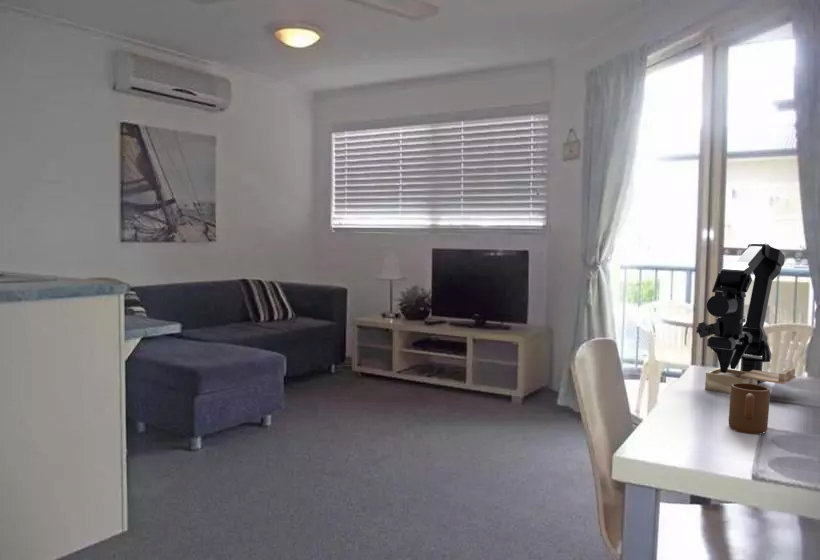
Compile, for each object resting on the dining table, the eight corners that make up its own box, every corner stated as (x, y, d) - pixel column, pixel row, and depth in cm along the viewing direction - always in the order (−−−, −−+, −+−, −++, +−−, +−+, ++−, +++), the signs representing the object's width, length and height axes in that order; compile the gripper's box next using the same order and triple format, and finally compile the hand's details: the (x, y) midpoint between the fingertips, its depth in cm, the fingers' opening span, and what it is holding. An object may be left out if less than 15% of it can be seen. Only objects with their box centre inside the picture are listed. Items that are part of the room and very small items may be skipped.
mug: (768, 442, 137) (771, 397, 137) (727, 436, 141) (729, 392, 140) (766, 428, 148) (769, 385, 147) (728, 422, 151) (731, 381, 151)
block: (738, 387, 186) (739, 374, 185) (732, 389, 182) (733, 376, 182) (721, 384, 189) (722, 371, 188) (715, 386, 185) (716, 374, 185)
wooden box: (718, 383, 192) (719, 367, 192) (756, 389, 185) (757, 373, 185) (704, 389, 184) (705, 372, 184) (744, 396, 177) (745, 379, 177)
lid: (753, 371, 186) (753, 362, 186) (795, 377, 179) (796, 368, 179) (740, 377, 178) (740, 367, 178) (784, 384, 171) (784, 374, 171)
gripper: (713, 309, 196) (709, 362, 197) (689, 313, 183) (685, 370, 184) (754, 313, 189) (750, 368, 190) (732, 318, 175) (728, 377, 176)
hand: (728, 370), depth 185 cm, fingers open, 7 cm apart
